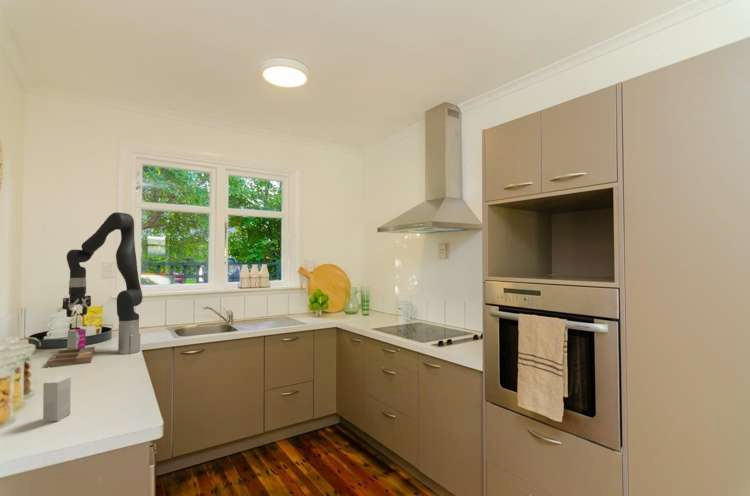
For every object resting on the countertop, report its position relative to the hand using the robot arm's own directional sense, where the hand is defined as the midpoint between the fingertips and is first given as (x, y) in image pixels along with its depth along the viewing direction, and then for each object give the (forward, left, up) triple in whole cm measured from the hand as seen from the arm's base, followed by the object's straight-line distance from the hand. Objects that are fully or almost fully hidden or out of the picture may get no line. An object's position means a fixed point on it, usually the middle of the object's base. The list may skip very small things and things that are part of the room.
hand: (76, 315), depth 213 cm
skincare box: (-82, +75, -19) cm, 113 cm away
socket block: (-16, +16, -19) cm, 30 cm away
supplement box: (0, 0, -19) cm, 19 cm away
